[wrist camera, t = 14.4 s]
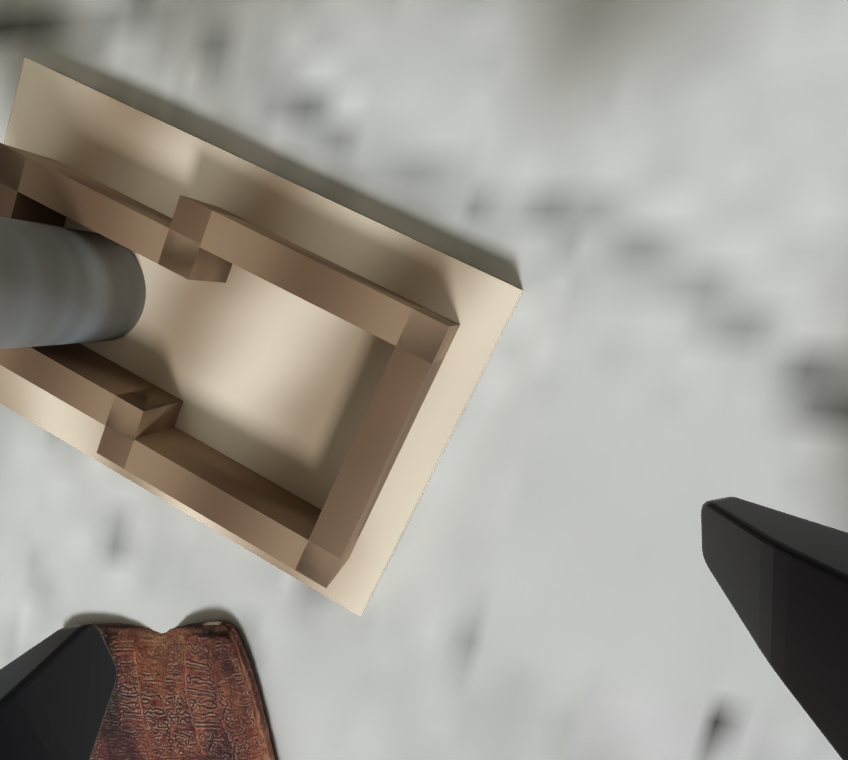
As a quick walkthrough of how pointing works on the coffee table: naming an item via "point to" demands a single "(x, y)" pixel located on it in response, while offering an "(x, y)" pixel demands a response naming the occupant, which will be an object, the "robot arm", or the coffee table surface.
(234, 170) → the keyhole board
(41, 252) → the slate peg
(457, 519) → the coffee table surface
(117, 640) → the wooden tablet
